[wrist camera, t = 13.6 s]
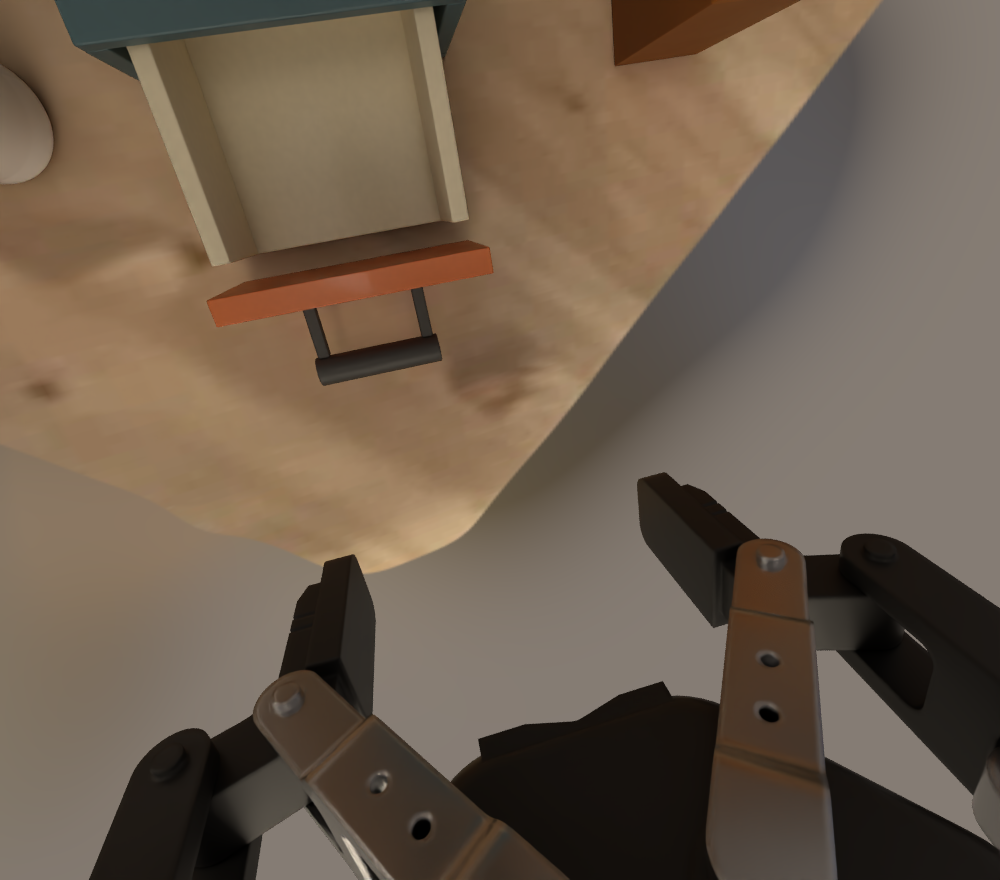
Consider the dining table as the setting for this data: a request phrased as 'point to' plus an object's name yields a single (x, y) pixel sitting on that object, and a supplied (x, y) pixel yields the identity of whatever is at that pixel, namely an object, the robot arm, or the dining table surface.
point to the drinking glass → (22, 131)
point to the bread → (681, 25)
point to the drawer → (317, 164)
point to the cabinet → (217, 20)
